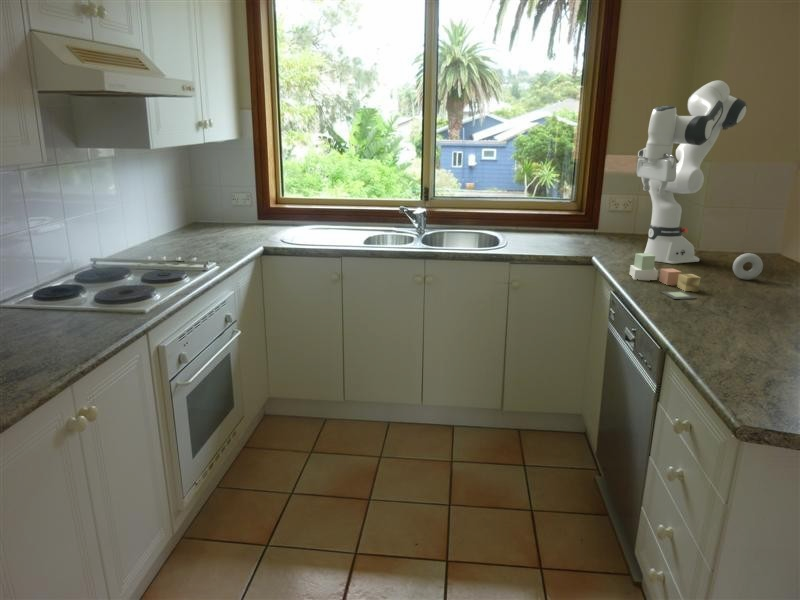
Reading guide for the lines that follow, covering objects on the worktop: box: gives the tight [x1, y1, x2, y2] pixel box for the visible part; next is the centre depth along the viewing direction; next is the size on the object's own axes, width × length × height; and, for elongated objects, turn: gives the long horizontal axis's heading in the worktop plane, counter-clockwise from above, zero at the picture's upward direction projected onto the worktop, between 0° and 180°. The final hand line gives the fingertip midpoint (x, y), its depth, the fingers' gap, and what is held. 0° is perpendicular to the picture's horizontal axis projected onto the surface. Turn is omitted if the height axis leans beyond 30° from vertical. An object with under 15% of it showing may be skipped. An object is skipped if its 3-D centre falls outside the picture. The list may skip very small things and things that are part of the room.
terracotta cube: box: [658, 268, 682, 286], centre depth 216 cm, size 5×5×5 cm
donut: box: [732, 252, 764, 281], centre depth 222 cm, size 10×4×10 cm, turn 77°
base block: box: [629, 264, 659, 281], centre depth 224 cm, size 8×8×4 cm
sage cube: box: [633, 252, 656, 270], centre depth 223 cm, size 5×5×5 cm
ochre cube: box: [676, 273, 702, 292], centre depth 209 cm, size 5×5×5 cm
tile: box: [661, 290, 697, 300], centre depth 202 cm, size 8×8×1 cm
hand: (653, 192), depth 220 cm, fingers open, 8 cm apart
